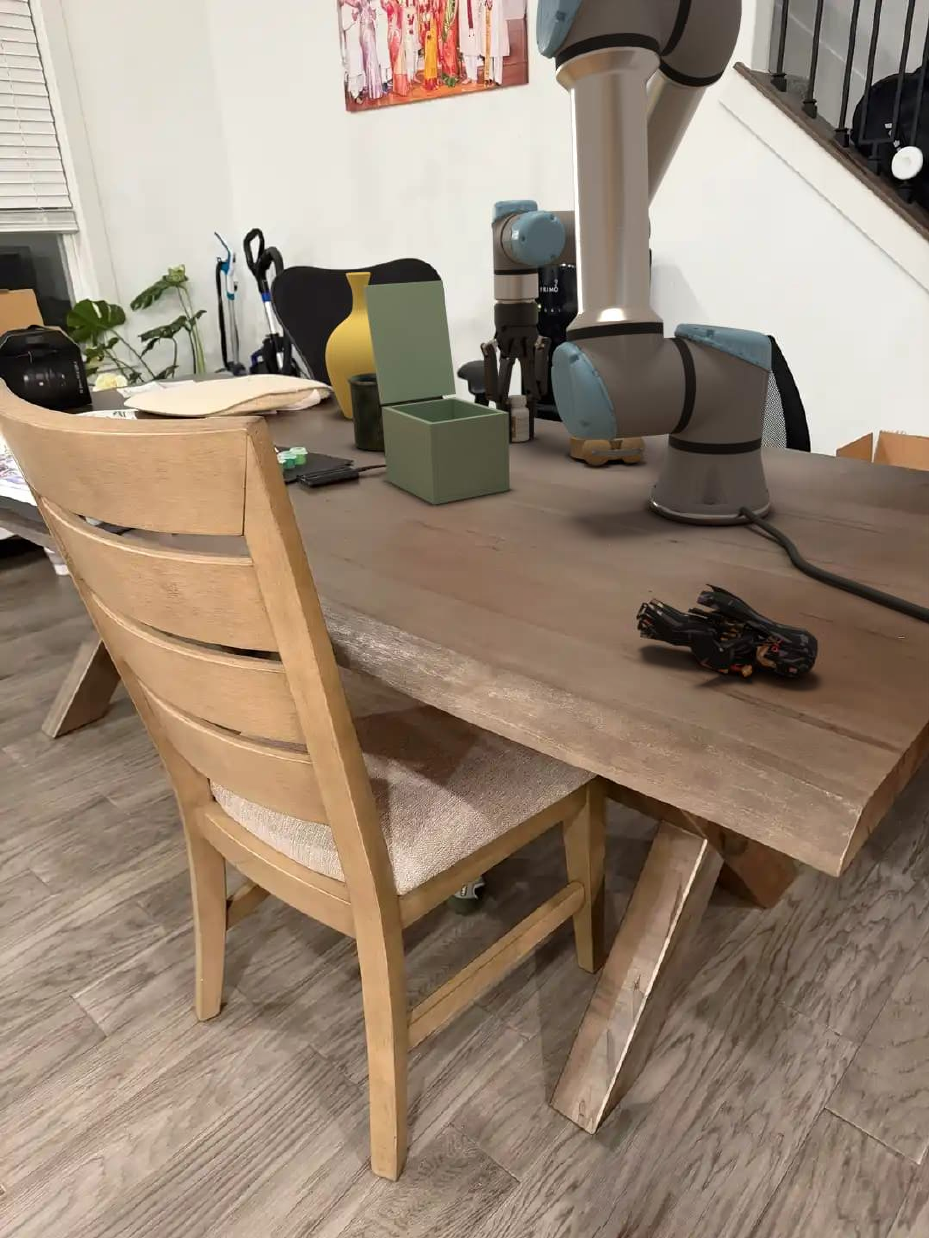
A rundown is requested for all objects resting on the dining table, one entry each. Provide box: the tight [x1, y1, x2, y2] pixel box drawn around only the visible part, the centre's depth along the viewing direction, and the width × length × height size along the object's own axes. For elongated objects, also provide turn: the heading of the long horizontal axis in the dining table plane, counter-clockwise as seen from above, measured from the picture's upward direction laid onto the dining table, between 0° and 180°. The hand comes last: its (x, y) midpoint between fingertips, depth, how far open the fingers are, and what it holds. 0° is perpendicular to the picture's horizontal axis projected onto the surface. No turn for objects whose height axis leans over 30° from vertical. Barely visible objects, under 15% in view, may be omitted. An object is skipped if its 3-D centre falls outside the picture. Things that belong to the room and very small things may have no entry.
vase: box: [325, 271, 376, 420], centre depth 173 cm, size 16×16×28 cm
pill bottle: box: [507, 394, 530, 443], centre depth 152 cm, size 4×4×8 cm
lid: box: [364, 280, 457, 404], centre depth 126 cm, size 17×13×1 cm
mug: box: [347, 373, 409, 451], centre depth 149 cm, size 11×15×12 cm
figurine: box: [635, 583, 819, 678], centre depth 72 cm, size 9×8×15 cm
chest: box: [382, 397, 510, 506], centre depth 125 cm, size 16×13×11 cm
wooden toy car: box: [569, 434, 646, 467], centre depth 138 cm, size 11×5×15 cm
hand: (517, 438), depth 153 cm, fingers closed on pill bottle, 4 cm apart
